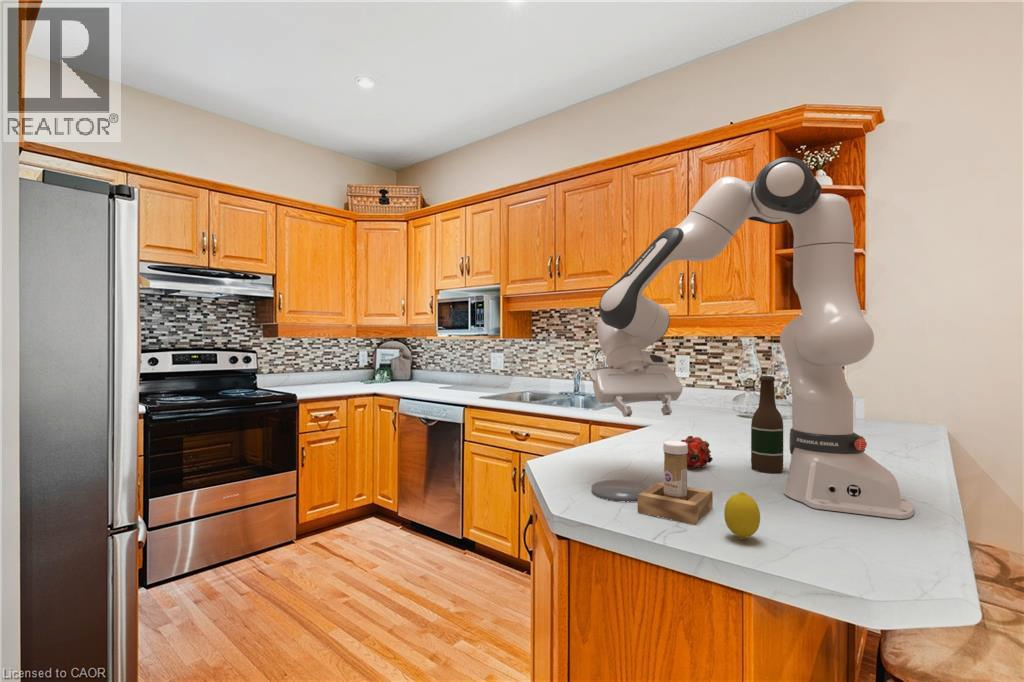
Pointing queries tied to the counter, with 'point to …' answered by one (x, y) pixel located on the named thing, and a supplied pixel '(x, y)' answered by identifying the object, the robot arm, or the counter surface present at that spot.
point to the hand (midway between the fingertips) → (648, 414)
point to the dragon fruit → (697, 452)
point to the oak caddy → (675, 504)
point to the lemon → (742, 515)
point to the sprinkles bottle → (675, 469)
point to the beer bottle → (767, 431)
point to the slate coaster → (618, 490)
